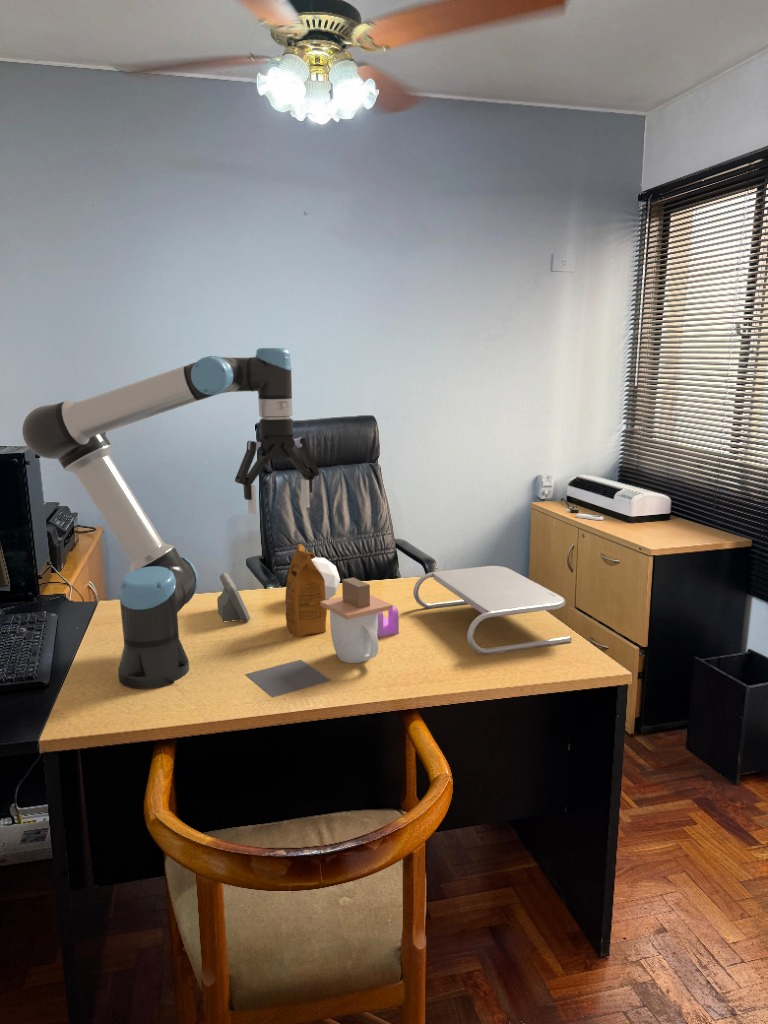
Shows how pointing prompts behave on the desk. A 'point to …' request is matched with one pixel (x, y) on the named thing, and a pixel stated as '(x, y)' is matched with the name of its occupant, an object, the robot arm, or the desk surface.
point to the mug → (354, 637)
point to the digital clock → (231, 602)
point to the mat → (287, 678)
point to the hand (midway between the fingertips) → (279, 510)
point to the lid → (355, 601)
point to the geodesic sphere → (328, 575)
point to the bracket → (388, 623)
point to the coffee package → (305, 596)
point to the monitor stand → (495, 598)
